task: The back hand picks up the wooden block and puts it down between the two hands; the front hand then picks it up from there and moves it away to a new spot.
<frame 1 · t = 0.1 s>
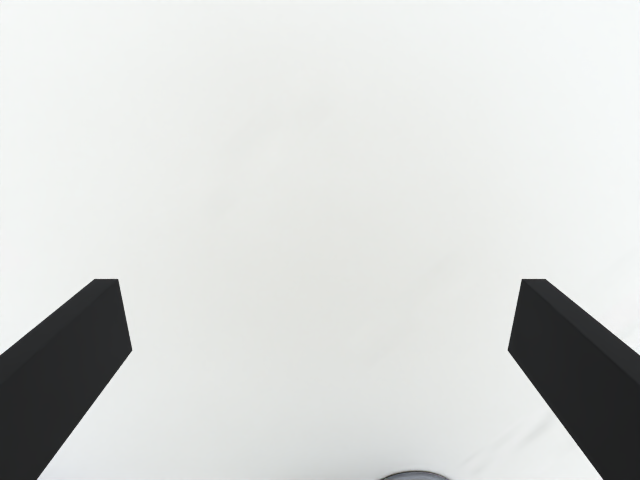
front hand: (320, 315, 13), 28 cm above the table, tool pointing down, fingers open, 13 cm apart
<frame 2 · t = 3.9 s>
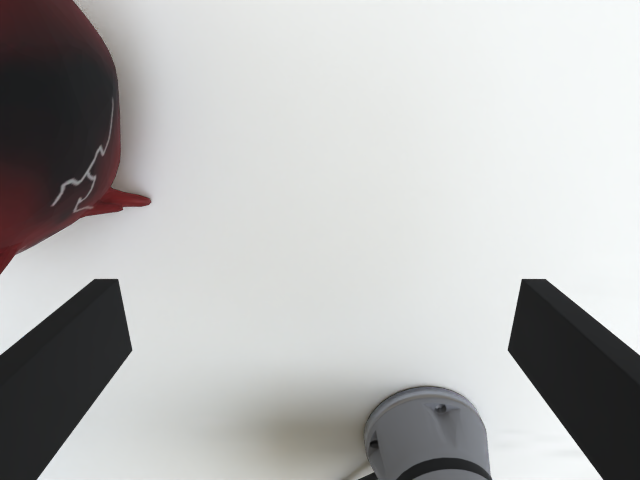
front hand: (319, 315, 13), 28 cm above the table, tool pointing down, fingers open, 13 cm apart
dark red rounded piece: (27, 107, 37), on the table
when the back hand's fingers open (2 cm above the table, at t = 8.1 s): block drops 1 cm, on the table.
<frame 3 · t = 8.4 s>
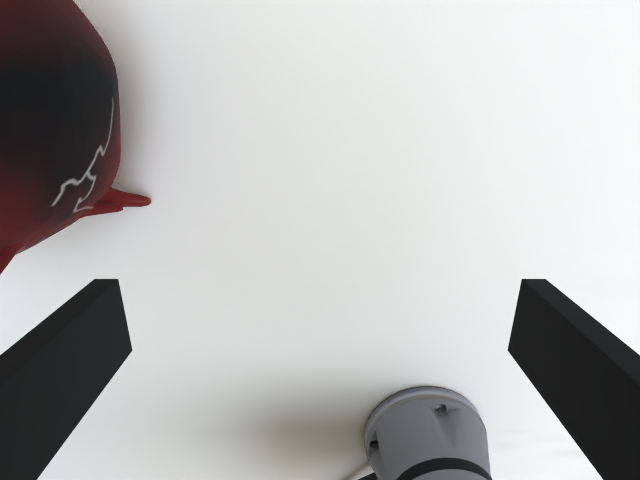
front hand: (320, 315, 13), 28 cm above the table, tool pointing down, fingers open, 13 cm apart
dark red rounded piece: (27, 107, 37), on the table
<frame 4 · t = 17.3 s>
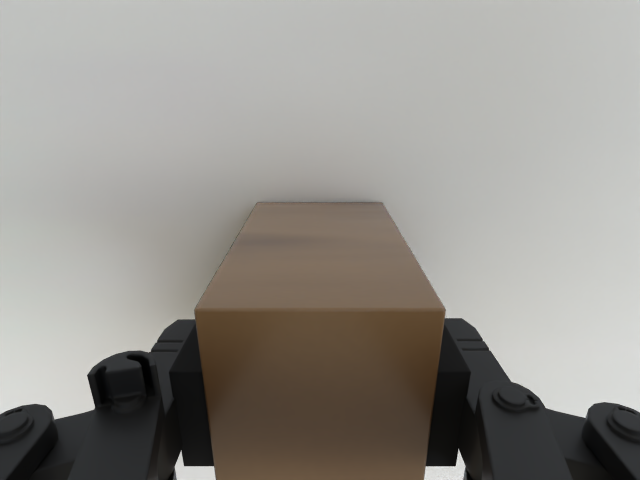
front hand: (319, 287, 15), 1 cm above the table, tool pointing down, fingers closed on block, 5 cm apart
block: (319, 269, 16), on the table, touching front hand
when the front hand's fingers open (2 cm above the table, at t = 27.4 s): block drops 1 cm, on the table.
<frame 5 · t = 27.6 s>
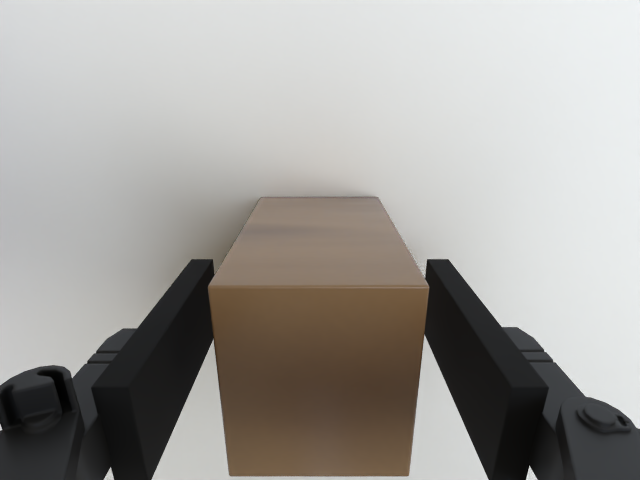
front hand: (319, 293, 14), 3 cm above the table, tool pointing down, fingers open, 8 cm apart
block: (319, 260, 17), on the table
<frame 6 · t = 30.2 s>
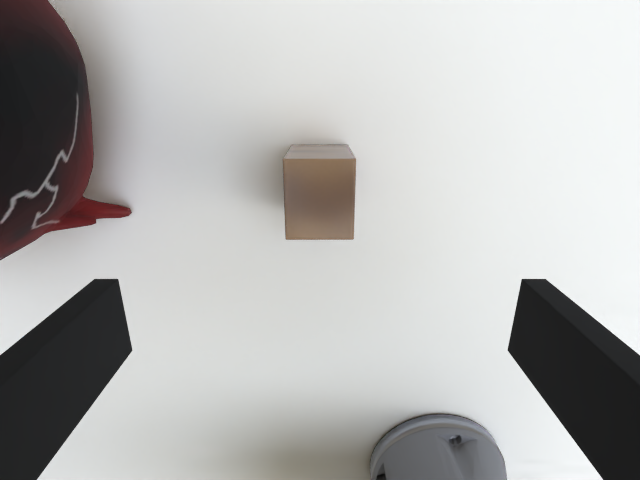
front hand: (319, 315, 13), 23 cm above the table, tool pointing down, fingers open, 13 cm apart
block: (319, 177, 35), on the table
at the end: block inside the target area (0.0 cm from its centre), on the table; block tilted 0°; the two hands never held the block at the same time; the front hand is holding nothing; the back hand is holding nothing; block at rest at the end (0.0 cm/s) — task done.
